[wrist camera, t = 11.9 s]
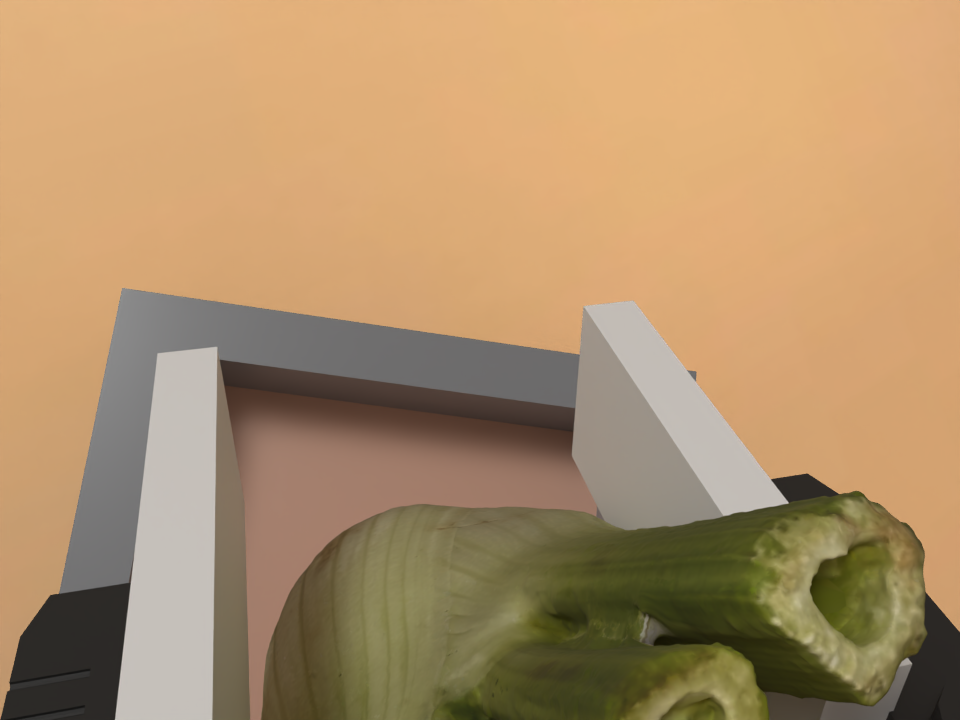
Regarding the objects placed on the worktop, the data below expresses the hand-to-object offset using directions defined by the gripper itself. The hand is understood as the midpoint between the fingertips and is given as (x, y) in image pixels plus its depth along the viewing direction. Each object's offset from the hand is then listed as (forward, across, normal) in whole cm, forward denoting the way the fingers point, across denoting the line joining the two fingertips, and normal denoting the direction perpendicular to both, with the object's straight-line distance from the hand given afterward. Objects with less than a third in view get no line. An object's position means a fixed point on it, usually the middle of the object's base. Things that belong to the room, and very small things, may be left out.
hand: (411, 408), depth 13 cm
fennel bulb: (0, 0, -6) cm, 6 cm away
